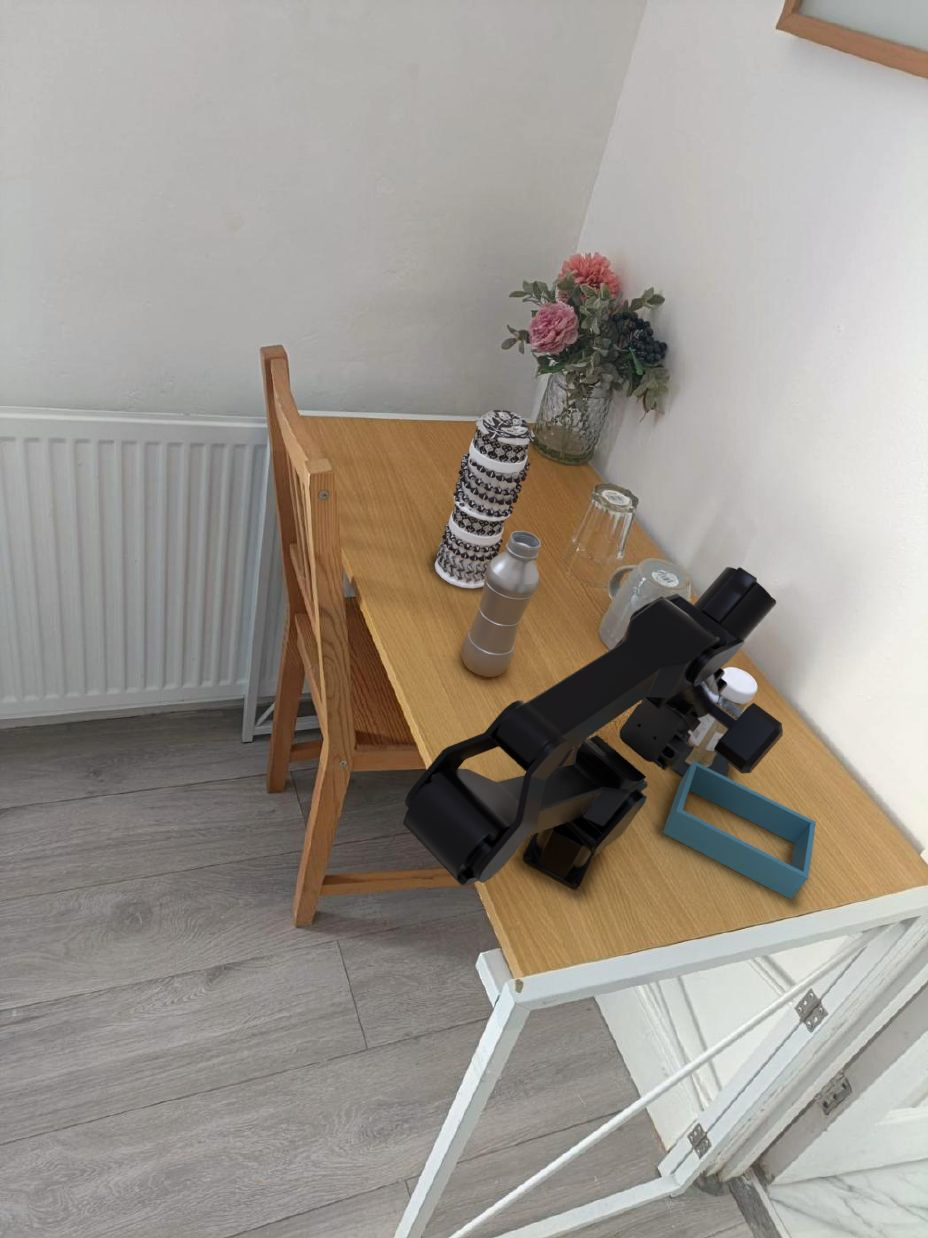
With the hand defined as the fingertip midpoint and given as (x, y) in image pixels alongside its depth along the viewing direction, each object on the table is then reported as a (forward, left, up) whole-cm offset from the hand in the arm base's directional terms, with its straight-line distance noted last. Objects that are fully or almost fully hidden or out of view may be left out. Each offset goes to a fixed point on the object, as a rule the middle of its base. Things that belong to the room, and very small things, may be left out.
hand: (698, 714), depth 99 cm
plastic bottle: (+4, +26, -12) cm, 29 cm away
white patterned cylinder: (+22, +37, -12) cm, 45 cm away
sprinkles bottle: (+7, -3, -11) cm, 13 cm away
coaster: (+7, -3, -11) cm, 14 cm away
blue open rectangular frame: (-3, -10, -11) cm, 15 cm away
